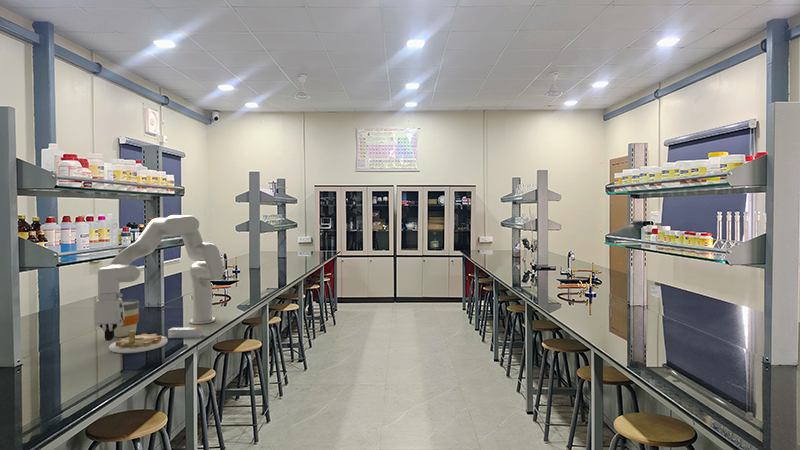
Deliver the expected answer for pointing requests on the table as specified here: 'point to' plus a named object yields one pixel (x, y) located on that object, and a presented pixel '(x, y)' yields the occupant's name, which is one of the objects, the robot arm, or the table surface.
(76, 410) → the table surface
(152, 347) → the base plate
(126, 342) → the sprocket wheel
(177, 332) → the white rectangular box
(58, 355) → the table surface
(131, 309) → the reusable coffee cup
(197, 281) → the robot arm
